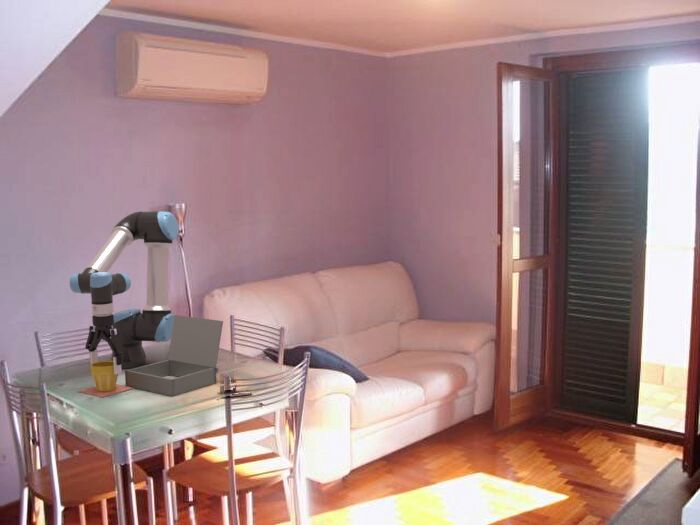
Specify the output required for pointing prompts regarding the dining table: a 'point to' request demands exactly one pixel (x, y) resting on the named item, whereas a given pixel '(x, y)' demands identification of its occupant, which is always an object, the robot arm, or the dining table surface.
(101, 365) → the plant pot
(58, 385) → the dining table surface
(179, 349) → the case
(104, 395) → the mat
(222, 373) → the architectural model
